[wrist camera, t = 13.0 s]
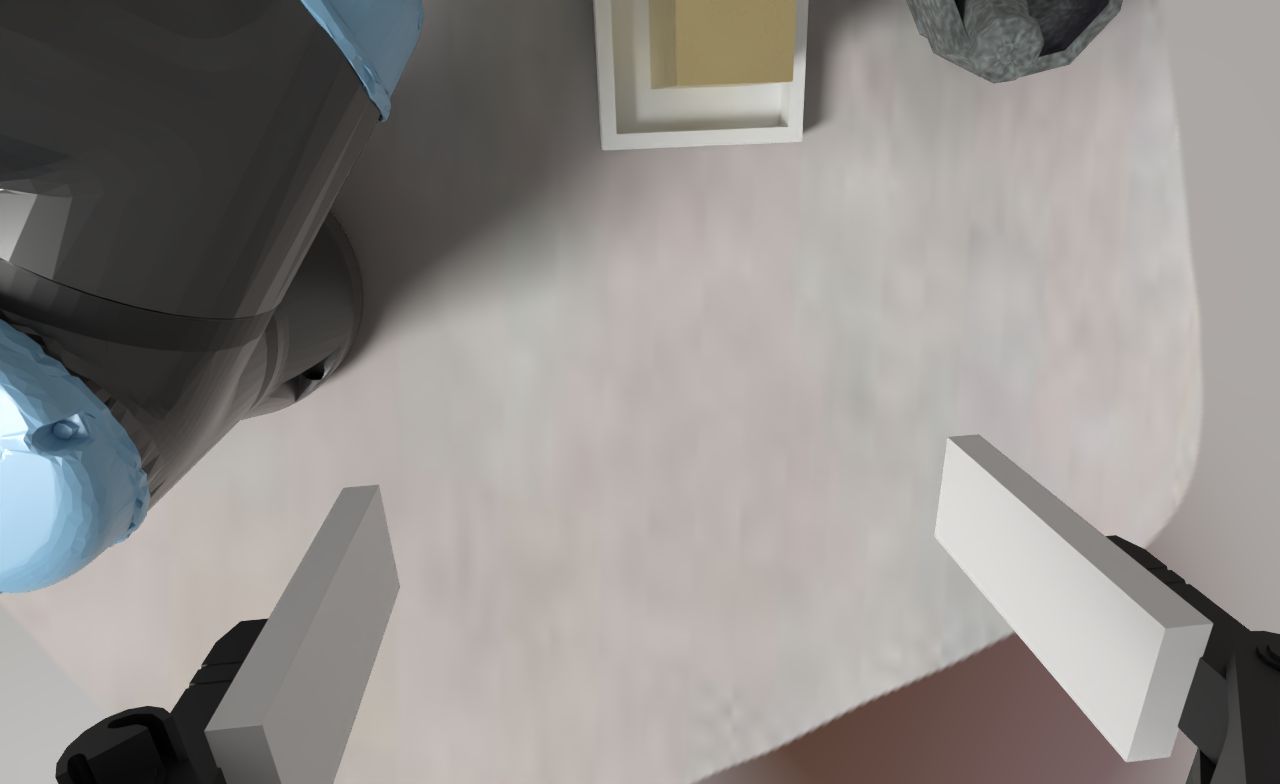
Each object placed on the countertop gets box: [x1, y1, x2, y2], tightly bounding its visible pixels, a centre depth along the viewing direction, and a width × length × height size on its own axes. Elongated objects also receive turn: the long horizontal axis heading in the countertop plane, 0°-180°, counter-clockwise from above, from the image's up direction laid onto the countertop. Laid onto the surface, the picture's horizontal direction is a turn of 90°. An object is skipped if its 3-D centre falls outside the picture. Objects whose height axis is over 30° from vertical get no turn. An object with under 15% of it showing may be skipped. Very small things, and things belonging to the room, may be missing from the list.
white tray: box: [593, 0, 809, 151], centre depth 38 cm, size 11×11×2 cm
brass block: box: [649, 0, 796, 89], centre depth 34 cm, size 5×5×10 cm
